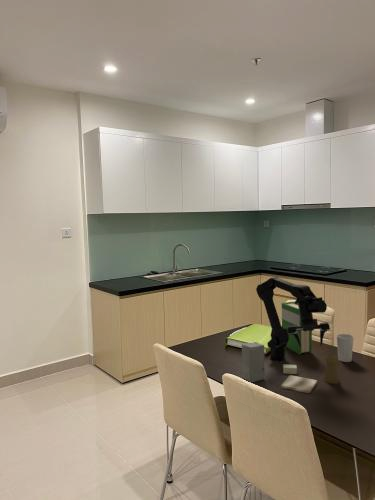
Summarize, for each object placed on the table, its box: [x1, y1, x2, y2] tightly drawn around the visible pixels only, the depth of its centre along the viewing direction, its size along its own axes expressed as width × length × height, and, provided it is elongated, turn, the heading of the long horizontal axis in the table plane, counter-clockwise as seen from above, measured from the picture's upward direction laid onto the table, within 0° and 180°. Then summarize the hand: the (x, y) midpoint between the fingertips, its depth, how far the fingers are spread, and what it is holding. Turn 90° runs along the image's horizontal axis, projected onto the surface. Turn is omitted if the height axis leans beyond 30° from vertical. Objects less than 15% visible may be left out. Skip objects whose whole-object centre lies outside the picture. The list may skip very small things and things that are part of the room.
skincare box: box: [241, 341, 265, 383], centre depth 179 cm, size 8×7×16 cm
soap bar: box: [282, 364, 298, 375], centre depth 185 cm, size 6×4×3 cm, turn 77°
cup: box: [336, 333, 355, 363], centre depth 198 cm, size 8×8×12 cm
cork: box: [324, 355, 340, 384], centre depth 174 cm, size 6×6×11 cm
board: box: [280, 374, 318, 394], centre depth 171 cm, size 12×12×1 cm
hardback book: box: [281, 301, 313, 355], centre depth 216 cm, size 18×7×24 cm, turn 17°
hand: (311, 346), depth 184 cm, fingers open, 9 cm apart
